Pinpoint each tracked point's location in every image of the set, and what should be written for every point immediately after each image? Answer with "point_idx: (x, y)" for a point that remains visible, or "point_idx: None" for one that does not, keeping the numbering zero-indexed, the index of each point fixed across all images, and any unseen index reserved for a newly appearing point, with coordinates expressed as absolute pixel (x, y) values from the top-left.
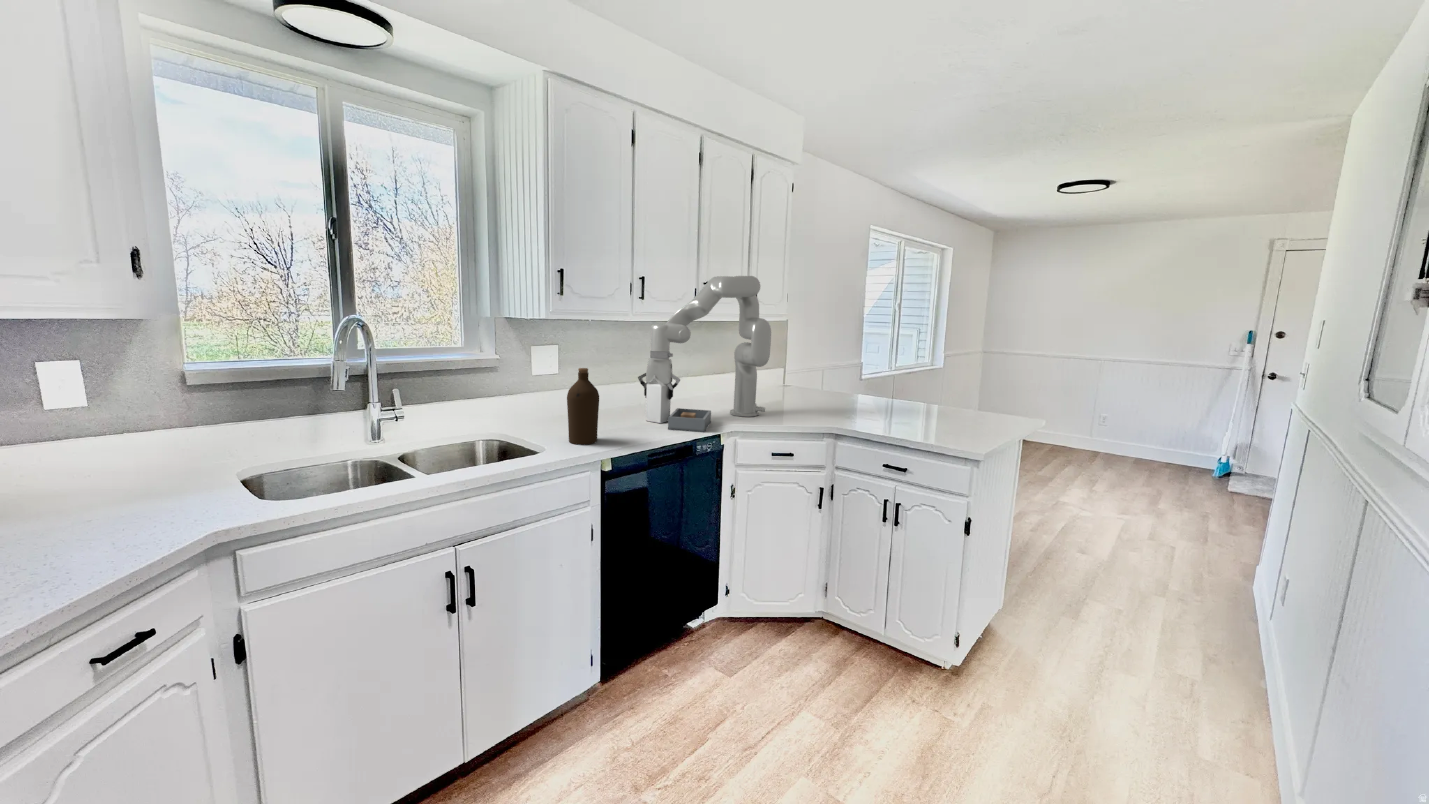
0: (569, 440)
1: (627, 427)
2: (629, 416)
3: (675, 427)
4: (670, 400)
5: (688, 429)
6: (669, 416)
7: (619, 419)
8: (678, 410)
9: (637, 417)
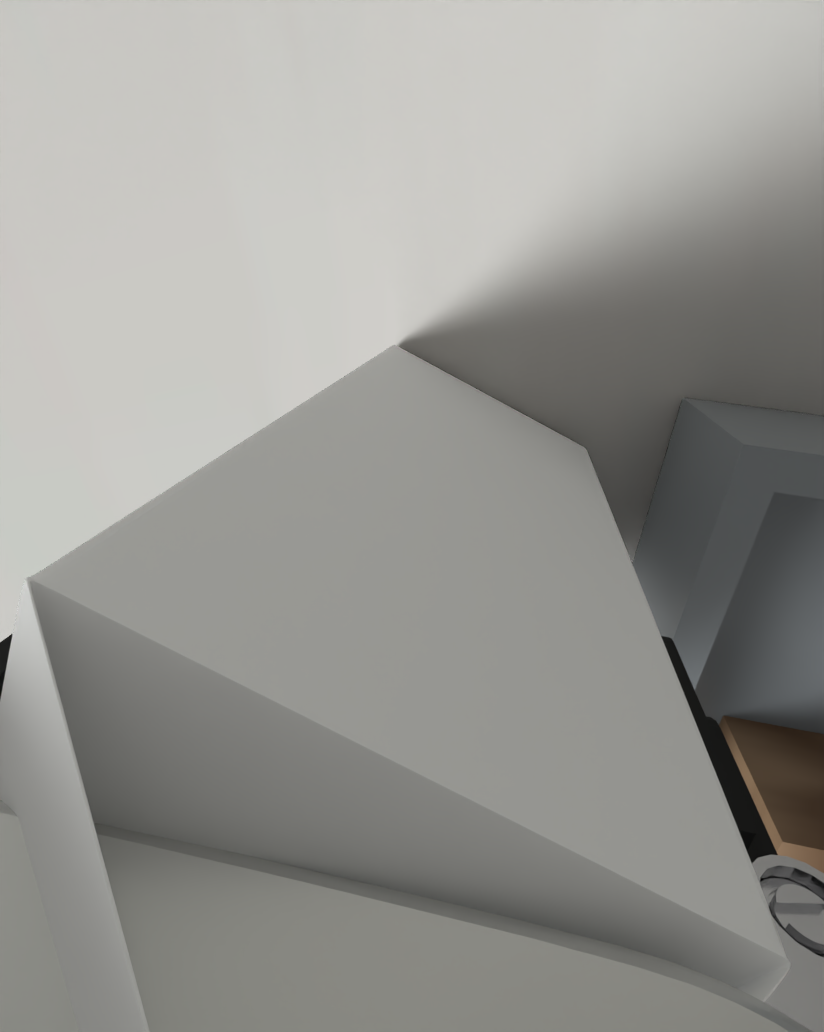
0: None
1: None
2: (75, 294)
3: None
4: (635, 574)
5: None
6: None
7: (51, 476)
8: (745, 539)
9: (177, 333)
